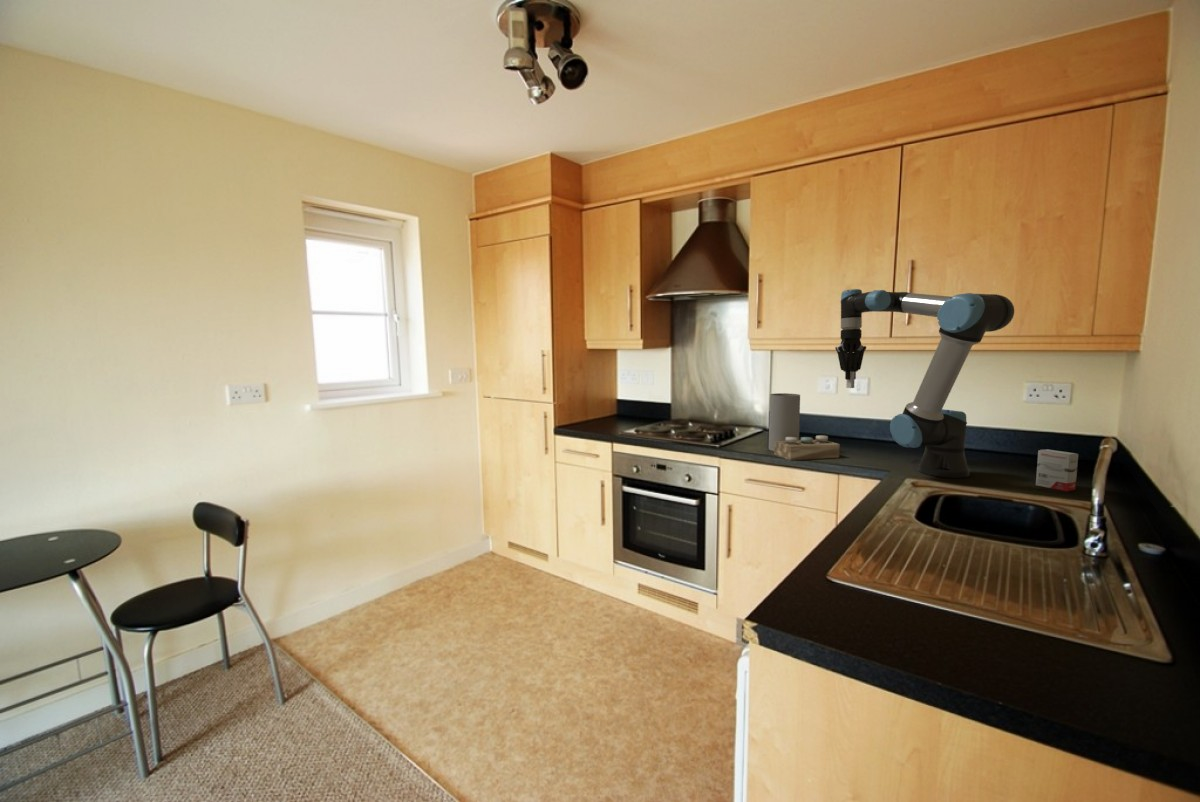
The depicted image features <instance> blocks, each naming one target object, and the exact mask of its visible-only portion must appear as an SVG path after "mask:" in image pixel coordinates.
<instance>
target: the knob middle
mask: <svg viewBox="0 0 1200 802" xmlns="http://www.w3.org/2000/svg"><path fill="white" fill-rule="evenodd" d="M800 440H801V442H802V443H803V444H811V442H813V437H810V436H803V437H802V436H801V437H800Z"/></svg>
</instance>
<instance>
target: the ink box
mask: <svg viewBox="0 0 1200 802" xmlns="http://www.w3.org/2000/svg"><path fill="white" fill-rule="evenodd" d="M1078 461H1079V453H1076V452H1075V453H1074V452H1068V451H1061V450H1054V449H1040V450H1039V449H1038V452H1037V465H1036V466H1037V467H1036V478H1035V486H1039V487H1044V488H1047V489H1053V490H1058V491H1062V492H1071V491H1075V490H1076V484H1077V474H1078Z"/></svg>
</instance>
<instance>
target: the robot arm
mask: <svg viewBox="0 0 1200 802" xmlns="http://www.w3.org/2000/svg"><path fill="white" fill-rule="evenodd" d="M870 312H877V313H878V312H880V313H881V312H882V313H883V312H885V313H886V312H892V313H894V312H895V313H902V314H910V315H919V316H926V317H934V318H936V319H937V320H938V321H937V323H938V325H939V329H938V333H939V335H940V336H941V338H940V340H939V342H938V345H937V347H936V350H935V352H934V354H933V357H932V358H931V361H930V363H929V365H928V367H927V370H926V372H925V375H924V377H923V378H922V380H921V383H920V386H919V388H918V390H917V393H916V394H915V396H914V400H913V401H912V402H909V403H907V404H906V405H905V407H904V409H903V411H902V413H899V414H897V415H895V416H893V418H892V419H891V421H890V424H889V431H890V434H891V437H892V439H893V440H894V441H895V442H896V443H897V444H898V445H900V446H901V447H904V448H912V449H913V448H914V449H916V448H920V447H922V448H923V447H925V448H924V452H923V454H922V457H921V459H920V462H919V463H918V468H917V469H918V471H919V472H920V473H922V474H925V475H929V476H933V477H934V476H935V477H941V478H950V479H958V478H959V479H962V478H968V477H969V476H970V467H969V466H968V462H967V458H966V454H965V451H966V450H965V448H966V435H967V424H968V421H967V414H966V412H965V411H963V410H961V411H960V410H950V409H943V408H944V406H945V404H946V401H947V400H948V398H949V395H950V393H951V392H952V389H953V387H954V385H955V383H956V382H957V379H958V377H959V374H960V372H961V370H962V368H963V366H964V363H965V362H966V359H967V358H968V356H969V354H970V352H971V350H972V347H973V346H974V345H977V344H979V343H981V341H982V340H983V337H984V335H985V333H988V332H989V333H991V332H996V331H999V330H1002V329H1004V328H1006V326H1008V325H1009V324H1010V323H1011V322H1012V320H1013V318H1014V316H1015V305H1014V304H1013V302H1012V301H1011V300H1010V299H1009V298H1008V297H1007V296H1004V295H1001V294H995V293H991V294H989V293H987V294H986V293H974V292H973V293H972V292H967V293H960V294H959V293H958V294H955V295H952V296H948V295H947V296H946V295H938V294H936V295H935V294H925V293H915V292H907V291H886V289H885V290H884V289H878V290H877V289H875V290H873V291H868V292H867V291H866V292H863V291H862V289H860V288H852V289H845V290H843V291H842V292H841V295H840V329H841V330H840V340H841V341H840V345H838V346H835V351H836V353H837V358H838V362H839V367H840V368H839V369H840V370H841V371H843V372H844V375H845V376H844V378H845V381H846V385H845V386H846V389H855V380H856V378H857V377H856V376H857V374H856V373H857V372H859V370H861V368H862V363H863V358H864V354H865V352H866V349H867V346H866V345H862V341H861V339H862V329H861V328H862V326H863V324H862V323H863V321H862V318H863V315H862V314H864V313H870Z"/></svg>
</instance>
